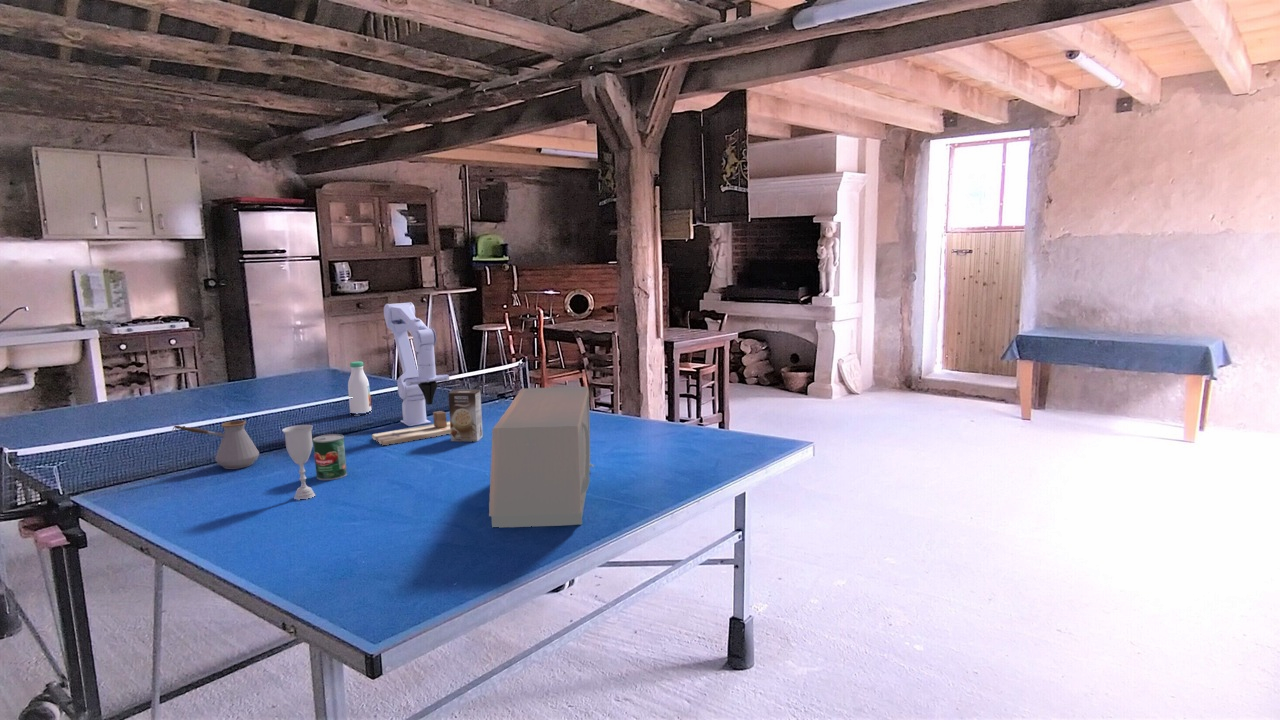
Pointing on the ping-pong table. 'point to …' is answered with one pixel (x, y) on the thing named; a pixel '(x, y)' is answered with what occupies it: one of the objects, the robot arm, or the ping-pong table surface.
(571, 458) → the vintage radio
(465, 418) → the coffee box
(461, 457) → the ping-pong table surface
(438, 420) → the fader knob
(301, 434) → the chalice
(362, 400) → the milk bottle
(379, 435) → the fader panel
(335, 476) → the canned tomato
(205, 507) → the ping-pong table surface
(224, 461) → the coffee pot
